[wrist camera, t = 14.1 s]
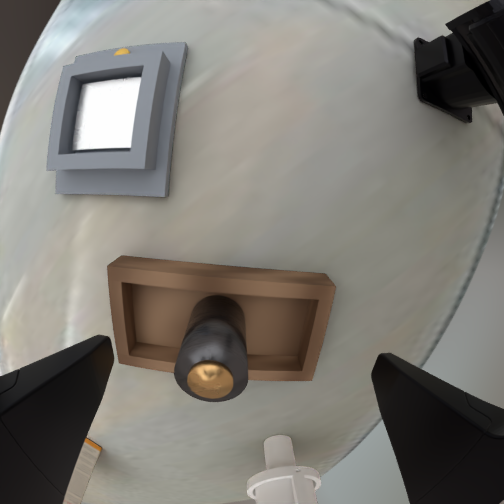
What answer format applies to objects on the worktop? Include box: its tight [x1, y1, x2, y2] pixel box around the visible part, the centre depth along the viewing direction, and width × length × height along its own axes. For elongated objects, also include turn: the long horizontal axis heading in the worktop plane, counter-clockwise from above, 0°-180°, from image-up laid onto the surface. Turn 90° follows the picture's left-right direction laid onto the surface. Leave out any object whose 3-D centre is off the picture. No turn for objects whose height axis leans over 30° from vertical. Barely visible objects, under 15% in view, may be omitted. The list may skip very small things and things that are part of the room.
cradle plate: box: [72, 77, 141, 151], centre depth 15 cm, size 5×5×1 cm
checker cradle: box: [46, 42, 188, 197], centre depth 15 cm, size 9×11×3 cm
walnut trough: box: [107, 256, 336, 381], centre depth 19 cm, size 15×8×2 cm, turn 84°
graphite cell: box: [174, 295, 248, 402], centre depth 17 cm, size 4×4×7 cm
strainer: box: [247, 435, 321, 504], centre depth 18 cm, size 7×7×15 cm
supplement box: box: [63, 438, 102, 504], centre depth 19 cm, size 8×5×13 cm, turn 139°
